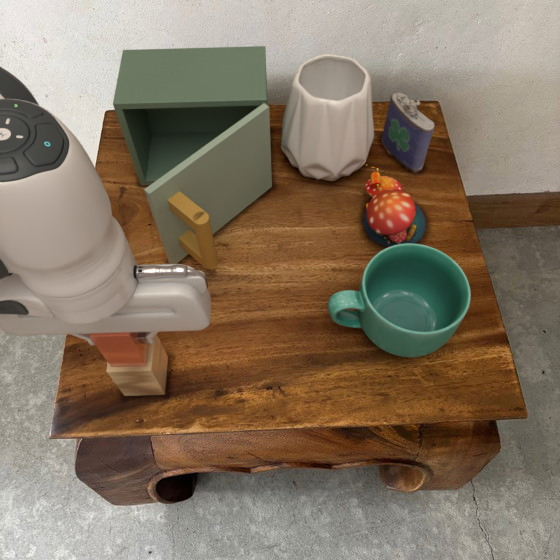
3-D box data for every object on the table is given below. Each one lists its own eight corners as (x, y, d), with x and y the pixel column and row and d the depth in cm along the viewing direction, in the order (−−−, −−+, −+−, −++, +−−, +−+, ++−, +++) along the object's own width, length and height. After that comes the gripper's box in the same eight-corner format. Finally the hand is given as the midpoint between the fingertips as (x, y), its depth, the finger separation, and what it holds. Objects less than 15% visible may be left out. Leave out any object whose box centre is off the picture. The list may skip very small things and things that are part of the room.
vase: (376, 132, 90) (391, 52, 77) (361, 197, 83) (375, 120, 70) (293, 118, 92) (294, 37, 79) (271, 180, 85) (269, 103, 72)
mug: (441, 280, 75) (459, 240, 67) (459, 365, 69) (482, 332, 61) (320, 284, 75) (324, 245, 67) (328, 370, 69) (333, 338, 61)
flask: (425, 169, 86) (441, 116, 77) (410, 176, 85) (425, 124, 76) (390, 133, 90) (401, 78, 81) (375, 139, 89) (385, 85, 80)
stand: (124, 396, 67) (105, 371, 60) (129, 358, 70) (111, 330, 63) (165, 394, 67) (151, 370, 61) (168, 357, 70) (155, 329, 63)
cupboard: (269, 182, 85) (266, 99, 71) (140, 185, 85) (112, 103, 71) (268, 131, 91) (265, 45, 77) (147, 134, 90) (122, 49, 77)
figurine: (429, 256, 77) (444, 220, 70) (362, 255, 78) (370, 218, 70) (421, 191, 84) (433, 151, 76) (359, 189, 84) (366, 150, 77)
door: (301, 207, 82) (303, 128, 69) (201, 292, 75) (183, 222, 61) (267, 183, 85) (263, 102, 71) (168, 262, 77) (143, 189, 64)
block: (111, 367, 61) (88, 336, 54) (115, 334, 63) (94, 300, 56) (147, 366, 61) (129, 335, 54) (150, 333, 63) (134, 299, 56)
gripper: (205, 237, 49) (221, 309, 61) (-25, 243, 49) (36, 315, 61) (202, 298, 46) (219, 362, 58) (-44, 305, 46) (24, 368, 57)
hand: (123, 338), depth 59 cm, fingers closed on block, 4 cm apart
